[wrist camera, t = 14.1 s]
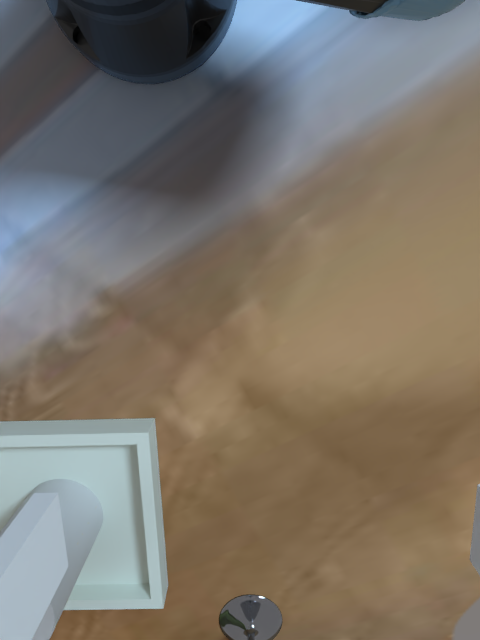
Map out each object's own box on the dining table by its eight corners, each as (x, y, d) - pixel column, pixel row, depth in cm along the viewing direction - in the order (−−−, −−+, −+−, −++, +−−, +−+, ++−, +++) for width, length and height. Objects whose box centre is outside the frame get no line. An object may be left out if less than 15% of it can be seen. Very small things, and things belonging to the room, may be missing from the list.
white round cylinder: (32, 549, 47) (-39, 659, 35) (18, 480, 45) (-61, 573, 33) (108, 545, 47) (62, 655, 35) (97, 476, 45) (45, 569, 33)
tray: (-43, 422, 45) (-63, 437, 42) (154, 418, 44) (148, 432, 41) (-11, 587, 49) (-27, 611, 46) (168, 585, 49) (163, 608, 46)
